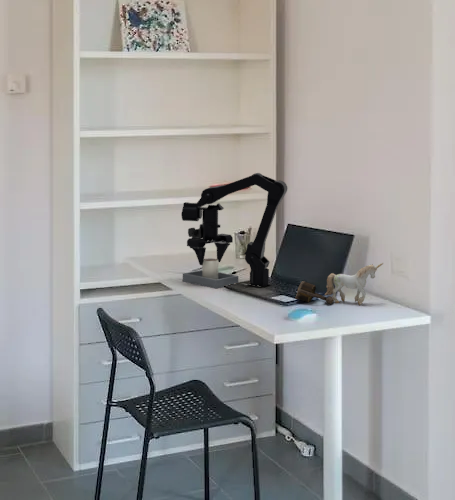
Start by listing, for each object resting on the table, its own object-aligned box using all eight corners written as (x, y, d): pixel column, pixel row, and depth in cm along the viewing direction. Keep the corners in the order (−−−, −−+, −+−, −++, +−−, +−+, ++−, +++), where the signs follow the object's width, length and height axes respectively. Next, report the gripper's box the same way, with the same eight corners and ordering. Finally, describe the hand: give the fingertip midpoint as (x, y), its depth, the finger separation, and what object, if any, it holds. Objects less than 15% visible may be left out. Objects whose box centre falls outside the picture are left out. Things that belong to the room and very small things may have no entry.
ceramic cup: (221, 281, 329) (221, 259, 328) (210, 283, 325) (210, 261, 324) (210, 278, 333) (210, 257, 332) (198, 281, 329) (198, 259, 328)
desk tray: (238, 283, 327) (238, 275, 327) (216, 288, 319) (216, 280, 319) (204, 277, 339) (204, 269, 339) (182, 281, 331) (182, 273, 331)
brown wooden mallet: (307, 282, 306) (290, 279, 298) (338, 283, 297) (321, 281, 290) (305, 302, 305) (288, 301, 298) (336, 305, 297) (319, 303, 289)
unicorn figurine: (383, 306, 293) (385, 266, 291) (324, 304, 295) (325, 265, 293) (382, 301, 300) (383, 262, 298) (324, 300, 302) (325, 261, 300)
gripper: (212, 217, 338) (212, 257, 340) (176, 221, 324) (176, 263, 327) (233, 220, 330) (233, 261, 333) (197, 225, 317) (197, 268, 319)
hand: (210, 263), depth 328 cm, fingers open, 9 cm apart
